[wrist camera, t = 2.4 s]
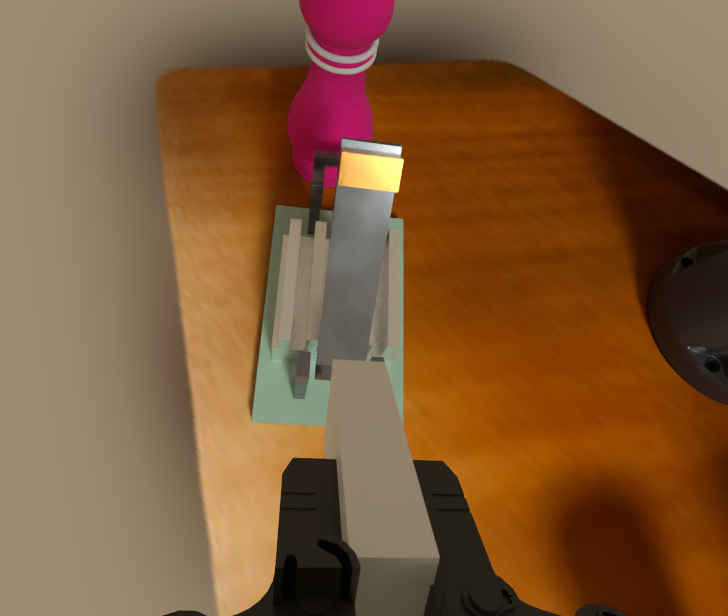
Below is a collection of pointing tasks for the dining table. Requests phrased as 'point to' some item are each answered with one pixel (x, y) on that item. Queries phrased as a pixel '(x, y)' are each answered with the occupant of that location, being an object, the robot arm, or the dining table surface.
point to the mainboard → (279, 375)
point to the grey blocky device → (306, 290)
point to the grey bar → (356, 248)
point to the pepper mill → (335, 79)
